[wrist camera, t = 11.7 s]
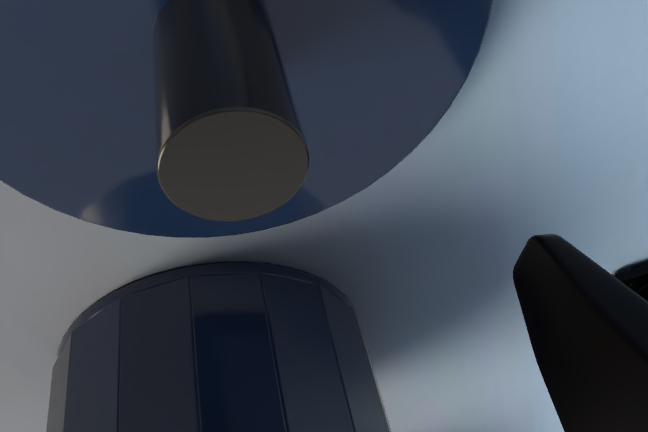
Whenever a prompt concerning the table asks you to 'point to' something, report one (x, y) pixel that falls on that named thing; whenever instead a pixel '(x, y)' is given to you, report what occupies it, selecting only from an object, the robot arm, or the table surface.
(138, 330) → the pot
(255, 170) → the lid
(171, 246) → the table surface
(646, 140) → the table surface
